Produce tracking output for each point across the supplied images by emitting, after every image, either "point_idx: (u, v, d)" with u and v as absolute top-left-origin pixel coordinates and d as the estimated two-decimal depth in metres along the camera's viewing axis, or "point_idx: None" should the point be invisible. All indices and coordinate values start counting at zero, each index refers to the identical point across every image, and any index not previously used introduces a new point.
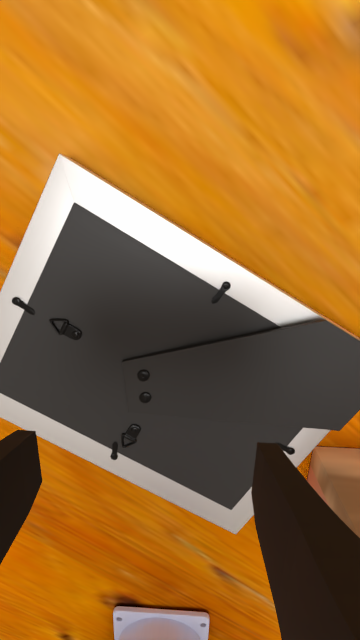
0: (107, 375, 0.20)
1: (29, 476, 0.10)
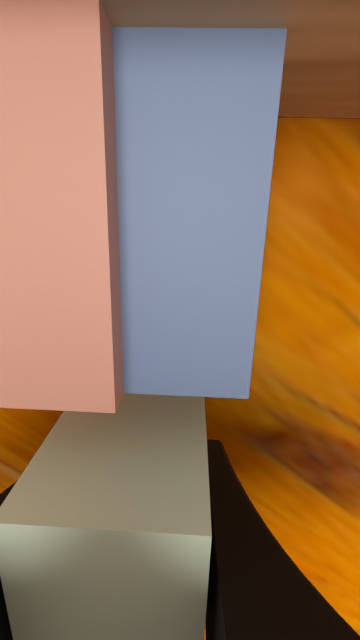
0: None
1: None
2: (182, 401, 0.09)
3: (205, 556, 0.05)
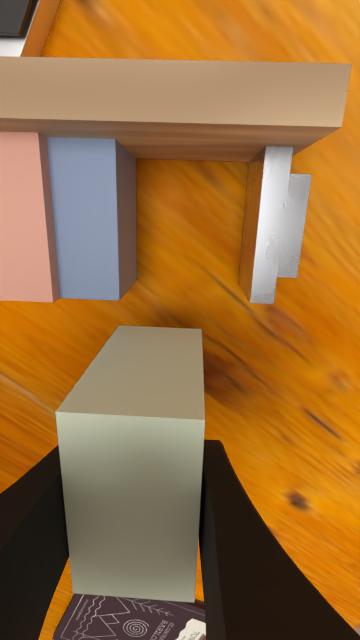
0: None
1: None
2: (184, 353, 0.11)
3: (200, 435, 0.08)
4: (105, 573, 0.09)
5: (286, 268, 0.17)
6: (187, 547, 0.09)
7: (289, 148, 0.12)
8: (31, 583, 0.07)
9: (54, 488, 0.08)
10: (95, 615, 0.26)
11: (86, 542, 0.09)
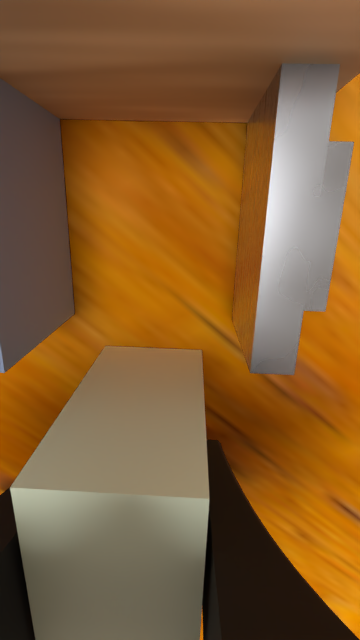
0: None
1: None
2: (182, 387, 0.09)
3: (203, 517, 0.06)
4: None
5: (308, 297, 0.11)
6: None
7: (331, 68, 0.06)
8: None
9: None
10: None
11: (58, 638, 0.07)
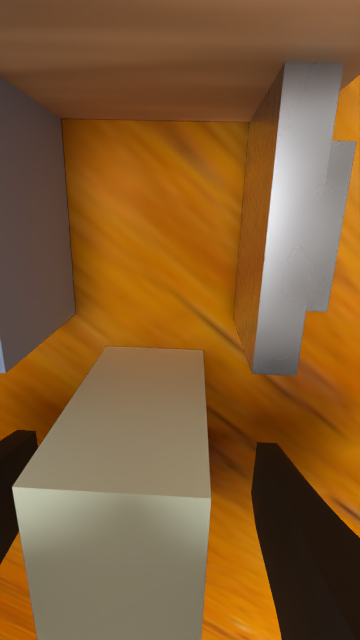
0: None
1: None
2: (183, 386, 0.09)
3: (205, 517, 0.06)
4: None
5: (310, 297, 0.11)
6: None
7: (335, 66, 0.06)
8: None
9: None
10: None
11: (60, 637, 0.07)
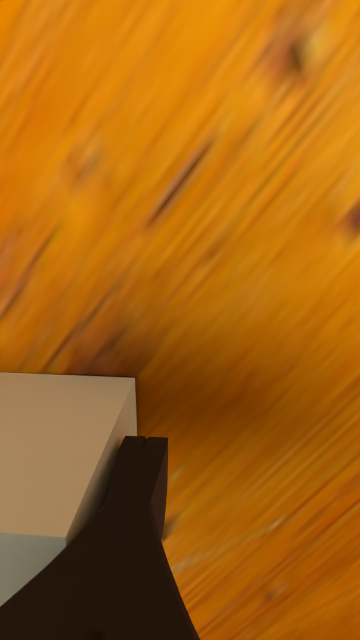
0: None
1: (165, 484, 0.10)
2: None
3: None
4: None
5: None
6: None
7: None
8: None
9: (155, 494, 0.08)
10: None
11: None
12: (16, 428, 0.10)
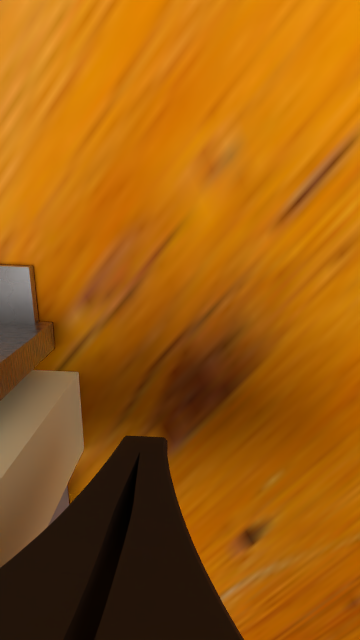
0: None
1: None
2: None
3: None
4: None
5: (17, 284, 0.11)
6: None
7: None
8: (111, 588, 0.07)
9: (124, 492, 0.08)
10: None
11: None
12: None
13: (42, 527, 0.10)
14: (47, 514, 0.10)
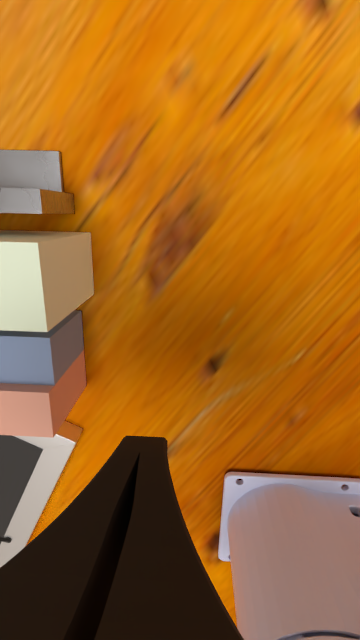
0: None
1: None
2: None
3: None
4: (22, 307, 0.13)
5: (50, 164, 0.17)
6: None
7: None
8: (111, 588, 0.07)
9: (125, 492, 0.08)
10: None
11: None
12: (9, 235, 0.15)
13: (70, 306, 0.16)
14: (72, 302, 0.16)
